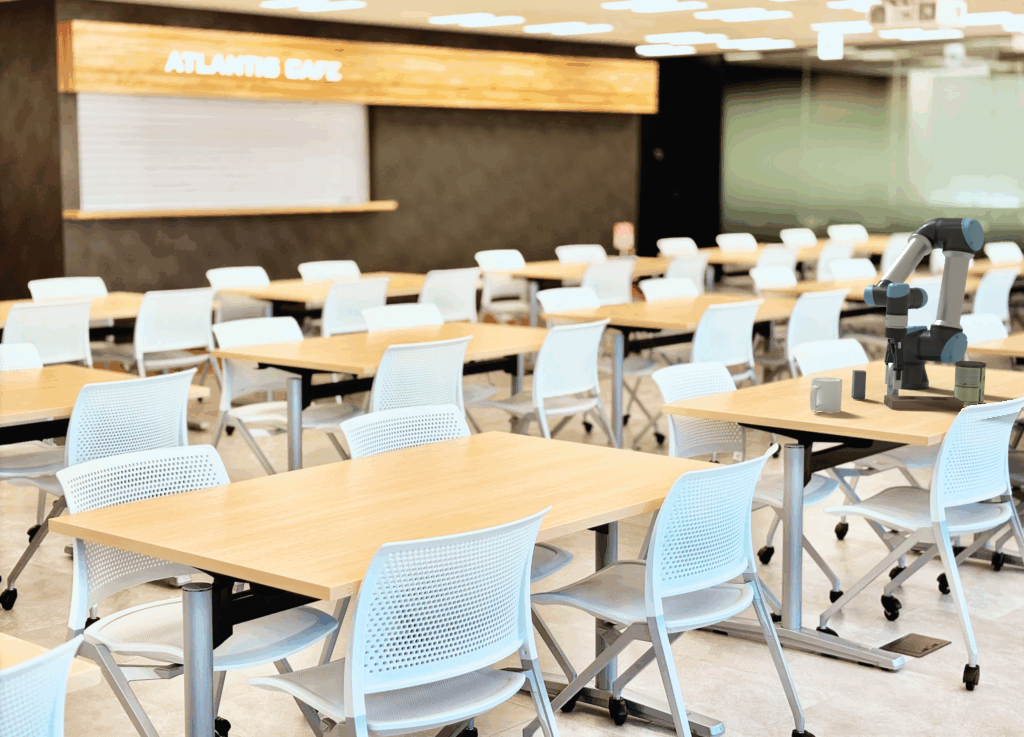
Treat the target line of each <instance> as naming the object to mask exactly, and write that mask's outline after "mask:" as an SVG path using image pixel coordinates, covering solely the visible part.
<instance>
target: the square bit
mask: <svg viewBox="0 0 1024 737" xmlns="http://www.w3.org/2000/svg"><path fill="white" fill-rule="evenodd" d="M851 378H852V380H851V397H852V398H853V399H865V400H866V386H867V384H866V383H867V371H866V370H862V369H861V370H860V369H859V370H858V369H852V376H851ZM852 398H851V399H852ZM853 399H852V400H853Z"/></svg>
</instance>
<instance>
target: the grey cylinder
mask: <svg viewBox="0 0 1024 737" xmlns="http://www.w3.org/2000/svg"><path fill="white" fill-rule="evenodd" d="M893 368H895V366H894V363H888V381H887V384H886V386H887V387H886V395H898V396H900V395H899V391H900V389H893V378H894V371H893Z"/></svg>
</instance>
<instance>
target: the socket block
mask: <svg viewBox="0 0 1024 737" xmlns="http://www.w3.org/2000/svg"><path fill="white" fill-rule="evenodd" d="M883 396H884V397H883V404H884V405H885V406H886V407H888V408H889V409H890V410H905V411H906V410H908V411H946V412H947V411H948V412H949V411H950V412H951V411H952V412H961V411H960V410H961V409H962V408H964V407H965V404H964V402H963V401H961V400H959V399H958V398H956V397H954V396H934V395H931V396H930V395H927V396H926V395H887V394H884V395H883Z"/></svg>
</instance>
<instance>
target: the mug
mask: <svg viewBox="0 0 1024 737" xmlns="http://www.w3.org/2000/svg"><path fill="white" fill-rule="evenodd" d="M810 380H811V382H810V393H809V394H810V395H809V410H810V409H811V410H815V411H822V412H838V411H842V397H843V396H842V392H843V391H842V389H843V379H841V378H837V377H825V376H824V377H822V376H821V377H817V376H816V377H812V378H811V379H810Z"/></svg>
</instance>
